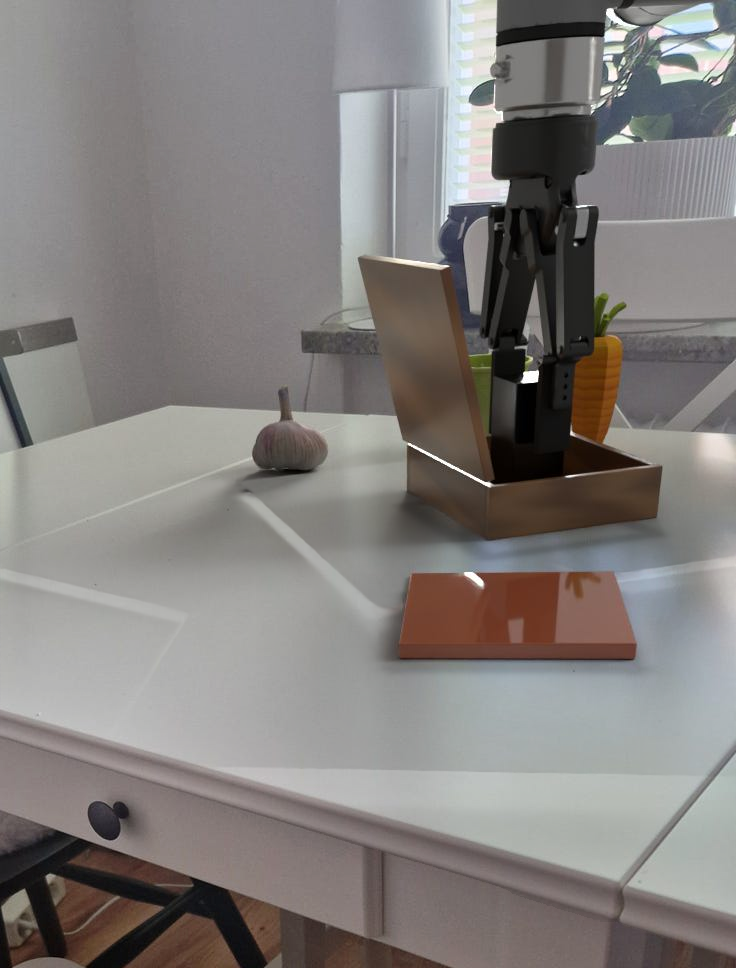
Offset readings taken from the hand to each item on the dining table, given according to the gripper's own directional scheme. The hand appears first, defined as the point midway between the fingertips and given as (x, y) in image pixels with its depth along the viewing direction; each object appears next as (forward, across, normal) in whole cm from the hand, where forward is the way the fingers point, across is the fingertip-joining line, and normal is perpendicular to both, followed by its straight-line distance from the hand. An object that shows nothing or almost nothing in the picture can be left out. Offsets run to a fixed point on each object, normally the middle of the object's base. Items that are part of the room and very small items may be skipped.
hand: (527, 441), depth 96 cm
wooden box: (+6, 0, 0) cm, 6 cm away
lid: (-7, 0, -9) cm, 11 cm away
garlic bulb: (+6, -26, -14) cm, 29 cm away
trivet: (+6, +24, -12) cm, 28 cm away
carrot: (+6, -13, +13) cm, 19 cm away
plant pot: (+6, -23, +6) cm, 25 cm away
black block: (+5, 0, 0) cm, 5 cm away
